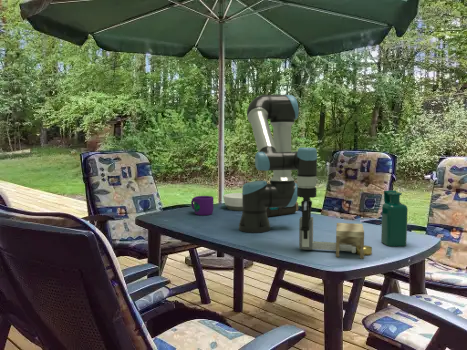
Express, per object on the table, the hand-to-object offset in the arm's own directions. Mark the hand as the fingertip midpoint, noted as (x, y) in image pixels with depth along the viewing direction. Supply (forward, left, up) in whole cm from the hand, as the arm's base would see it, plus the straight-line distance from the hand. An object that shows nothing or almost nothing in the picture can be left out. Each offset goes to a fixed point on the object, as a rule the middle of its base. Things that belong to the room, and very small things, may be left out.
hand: (306, 244), depth 173 cm
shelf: (+17, 0, -2) cm, 17 cm away
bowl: (-47, +89, -2) cm, 101 cm away
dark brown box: (-22, +70, -3) cm, 74 cm away
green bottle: (+35, +18, -2) cm, 39 cm away
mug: (-66, +67, -2) cm, 94 cm away
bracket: (+8, 0, -1) cm, 8 cm away
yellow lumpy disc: (+22, 0, -2) cm, 22 cm away
